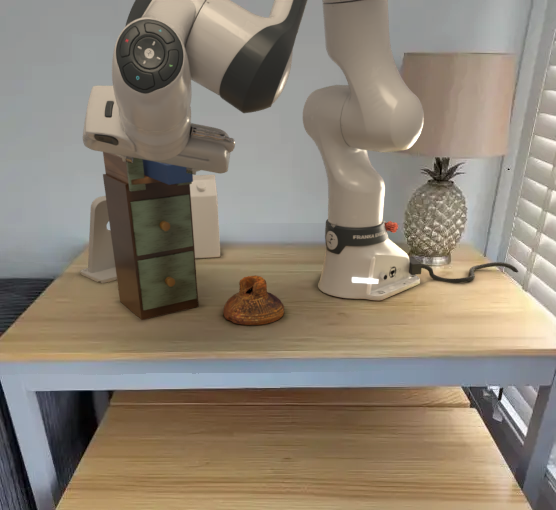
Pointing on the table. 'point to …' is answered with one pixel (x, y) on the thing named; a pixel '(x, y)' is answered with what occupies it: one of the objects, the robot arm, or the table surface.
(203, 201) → the milk carton
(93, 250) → the phone holder
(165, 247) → the drawer stand
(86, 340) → the table surface
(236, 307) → the bell
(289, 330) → the table surface
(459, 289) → the table surface
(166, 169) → the case
